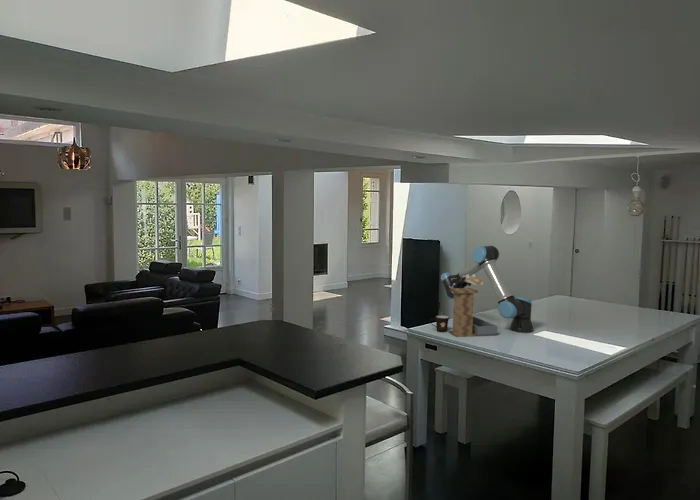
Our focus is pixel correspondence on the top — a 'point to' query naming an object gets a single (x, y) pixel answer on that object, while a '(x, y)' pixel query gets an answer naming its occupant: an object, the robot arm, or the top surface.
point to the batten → (474, 280)
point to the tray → (483, 327)
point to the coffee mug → (441, 323)
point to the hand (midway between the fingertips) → (471, 275)
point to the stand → (463, 312)
